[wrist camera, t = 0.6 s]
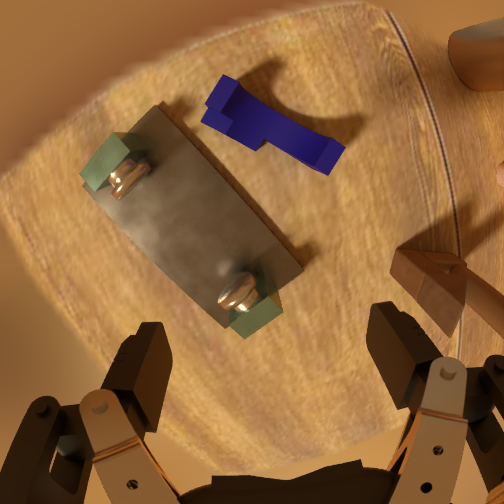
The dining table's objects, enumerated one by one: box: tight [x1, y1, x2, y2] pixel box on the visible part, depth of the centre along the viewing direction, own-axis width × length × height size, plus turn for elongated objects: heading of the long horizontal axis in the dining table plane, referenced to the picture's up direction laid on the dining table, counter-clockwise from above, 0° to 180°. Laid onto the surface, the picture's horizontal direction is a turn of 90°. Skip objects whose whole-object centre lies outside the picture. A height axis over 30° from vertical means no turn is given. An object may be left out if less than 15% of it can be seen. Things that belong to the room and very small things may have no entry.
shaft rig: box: [79, 105, 304, 339], centre depth 28 cm, size 12×24×6 cm, turn 40°
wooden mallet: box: [390, 249, 504, 339], centre depth 26 cm, size 4×11×18 cm, turn 85°
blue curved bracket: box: [200, 74, 346, 176], centre depth 25 cm, size 12×4×6 cm, turn 60°
